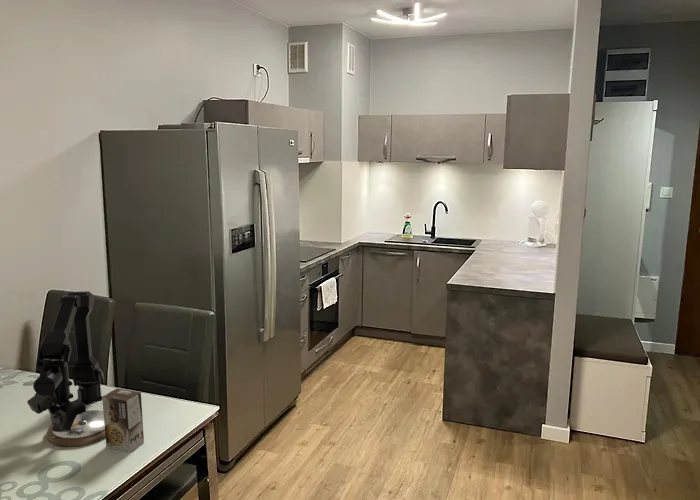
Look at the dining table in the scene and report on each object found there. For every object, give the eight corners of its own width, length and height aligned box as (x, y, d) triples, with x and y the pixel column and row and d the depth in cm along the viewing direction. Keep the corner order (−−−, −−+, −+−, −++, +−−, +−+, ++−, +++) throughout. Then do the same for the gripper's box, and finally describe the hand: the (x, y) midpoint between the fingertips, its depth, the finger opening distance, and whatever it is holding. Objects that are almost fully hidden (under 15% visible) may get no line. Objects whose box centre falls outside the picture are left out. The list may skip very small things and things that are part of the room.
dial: (105, 408, 186) (104, 391, 185) (118, 429, 173) (117, 411, 171) (48, 422, 176) (46, 404, 175) (56, 445, 163) (55, 426, 162)
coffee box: (145, 442, 168) (142, 391, 165) (130, 453, 162) (127, 400, 159) (120, 437, 171) (117, 387, 168) (104, 447, 165) (101, 396, 162)
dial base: (96, 409, 189) (96, 405, 188) (130, 427, 177) (130, 422, 177) (34, 433, 173) (34, 428, 172) (68, 454, 161) (67, 449, 161)
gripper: (14, 380, 166) (19, 428, 169) (47, 399, 155) (51, 449, 159) (52, 367, 175) (56, 413, 178) (85, 385, 164) (89, 433, 168)
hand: (62, 427), depth 170 cm, fingers open, 6 cm apart
